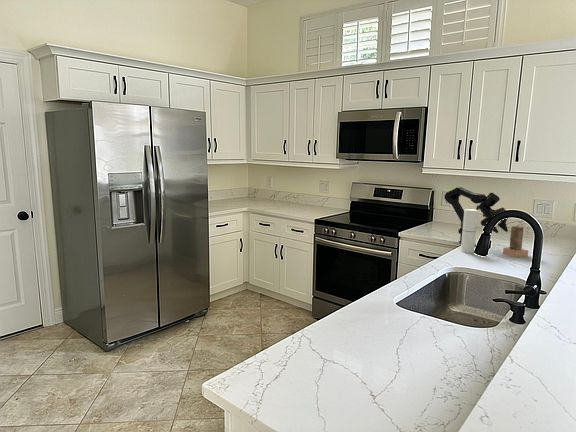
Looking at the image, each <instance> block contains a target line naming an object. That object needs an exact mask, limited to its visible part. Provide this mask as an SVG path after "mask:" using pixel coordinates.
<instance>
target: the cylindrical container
mask: <svg viewBox="0 0 576 432" xmlns="http://www.w3.org/2000/svg"><path fill="white" fill-rule="evenodd" d="M463 210H464V220H463V231H462V243H460V244H461V247H460V251H461V252H462V253H466V254H474V253H475V246H476V245H475V243H476V232H477V224H478V223H477V222H478V221H477V220H478V211H479V210H476V209H474V208H473V209H471V208H465V209H464V208H463ZM473 252H474V253H473Z"/></svg>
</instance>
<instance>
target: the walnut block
mask: <svg viewBox="0 0 576 432" xmlns="http://www.w3.org/2000/svg"><path fill="white" fill-rule="evenodd" d="M524 228H525V227H524V226H519V225H512V226H511V228H510V238H509V247H510V248H509V249H513V250H521V249H523V248H522V247H523V237H524Z"/></svg>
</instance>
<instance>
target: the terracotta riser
mask: <svg viewBox="0 0 576 432" xmlns="http://www.w3.org/2000/svg"><path fill="white" fill-rule="evenodd" d="M509 248H510V246H508V247H503V249H502V254H503V255H506V256H509V257H513V258H526V257H529V249H525V248H522V249H521V250H513V249H509Z"/></svg>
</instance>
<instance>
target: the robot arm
mask: <svg viewBox="0 0 576 432" xmlns="http://www.w3.org/2000/svg"><path fill="white" fill-rule="evenodd" d="M461 196H462V197H465V198H467V199H469V200H470V201H471V202H472V204H477V205H476V208H475V210H478V211H480V212H481V213H482V217H483V218H482V220H481V221H480V225H481V226H482V227H484V226H485V225H486V223H487V222H488V221H489V220H490V219H491V218H492V217H493V216H494V215H496V214H498V213H500V212H503V211H506V212H507V210H506V208H505V207H500V208H497V209H493V208H492V207H494V206H495V205H496V204H497V203H498V202H499V201H500V199H501V198H500V197H499V196H498V195H497V194H495V193H494V192H489V193H488V195H487V196H486V194H484V193H477V192H473V191H470V190H468V189H466V188H464V187H460V186H459V187H458V186H457V187H455V188H453V189H451V190H449V191H447V192H445V194H444V199H445V201H446V202H447V203H448V204H449V205H451V206H452V208H453V210H454V212H455V213H456V215H457V217H458V219H459V221H460V228H459V229H458V231H457V232H458V234H460V237H459V240H458V243H460V244H461V243H462V231H463V220H464V208H463V206H462V204H461V203H460V197H461ZM484 217H485V218H484ZM508 219H509V217H507V219H504V220H501V221H500V222H499V223H498V224H497V227H499V228H501V229H502V230H503V231H504V232H506V233H507V232H508V231H509V229H508V227H507V226H508V225H507V221H508ZM497 227H496V226H495V227H494V229H493V231H492V232H494V233H496V234H498V233H499V230H498V229H497Z"/></svg>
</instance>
